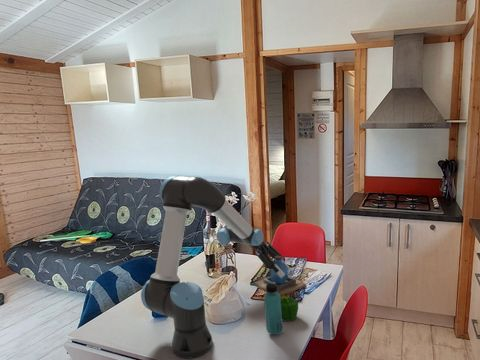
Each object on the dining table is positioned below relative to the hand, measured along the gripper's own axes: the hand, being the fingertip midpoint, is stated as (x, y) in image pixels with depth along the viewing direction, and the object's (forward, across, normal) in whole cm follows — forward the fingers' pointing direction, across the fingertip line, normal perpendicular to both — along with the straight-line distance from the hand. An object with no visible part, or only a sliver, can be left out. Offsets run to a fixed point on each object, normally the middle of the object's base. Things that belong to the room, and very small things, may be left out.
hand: (285, 273), depth 178 cm
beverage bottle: (+11, +38, +1) cm, 40 cm away
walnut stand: (+3, 0, -8) cm, 8 cm away
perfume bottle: (0, 0, -6) cm, 6 cm away
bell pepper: (+12, +26, +2) cm, 29 cm away
